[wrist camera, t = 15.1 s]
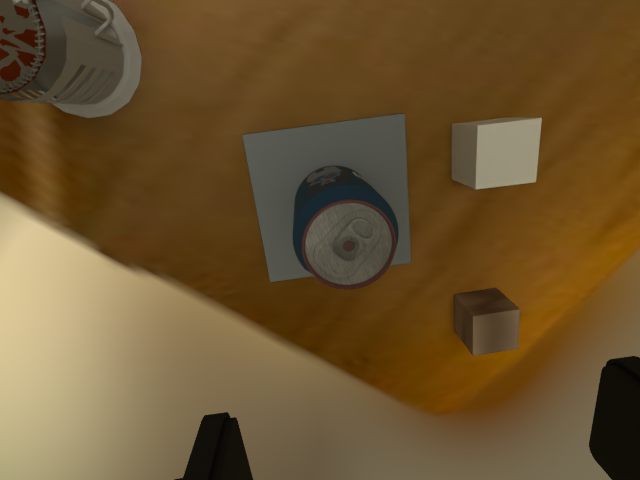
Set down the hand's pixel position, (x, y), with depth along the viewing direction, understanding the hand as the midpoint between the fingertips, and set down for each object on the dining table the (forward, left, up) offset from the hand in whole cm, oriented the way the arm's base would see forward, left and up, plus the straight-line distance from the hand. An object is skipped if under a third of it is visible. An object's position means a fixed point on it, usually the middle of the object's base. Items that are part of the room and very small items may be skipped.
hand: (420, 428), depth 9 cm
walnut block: (-14, +14, -26) cm, 33 cm away
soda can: (0, 0, -25) cm, 25 cm away
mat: (0, 0, -26) cm, 26 cm away
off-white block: (-14, -3, -26) cm, 30 cm away
